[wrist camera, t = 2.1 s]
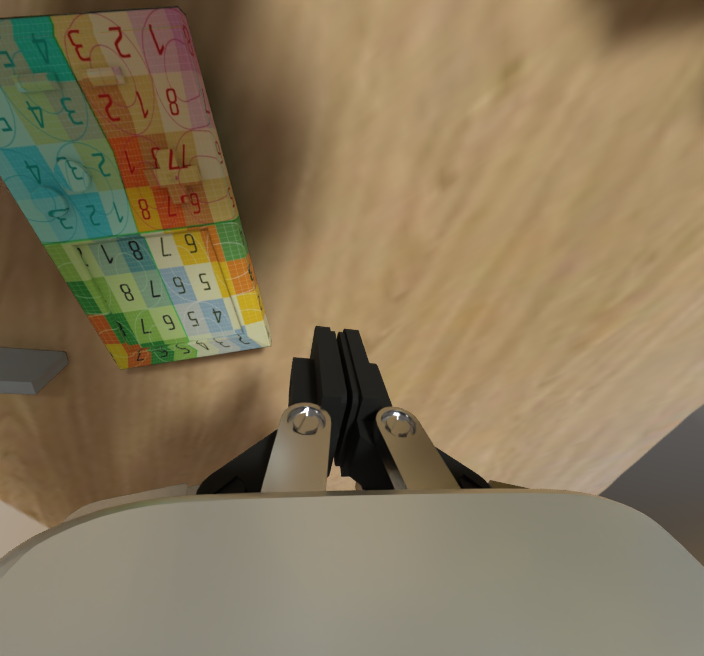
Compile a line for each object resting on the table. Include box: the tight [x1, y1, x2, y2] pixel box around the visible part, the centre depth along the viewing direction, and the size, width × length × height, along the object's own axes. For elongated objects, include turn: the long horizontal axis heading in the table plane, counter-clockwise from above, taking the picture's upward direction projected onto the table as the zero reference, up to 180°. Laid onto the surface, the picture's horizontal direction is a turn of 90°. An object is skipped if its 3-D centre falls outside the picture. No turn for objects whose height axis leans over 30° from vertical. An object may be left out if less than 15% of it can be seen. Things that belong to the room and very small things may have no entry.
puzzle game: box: [0, 6, 272, 370], centre depth 21 cm, size 12×5×20 cm
